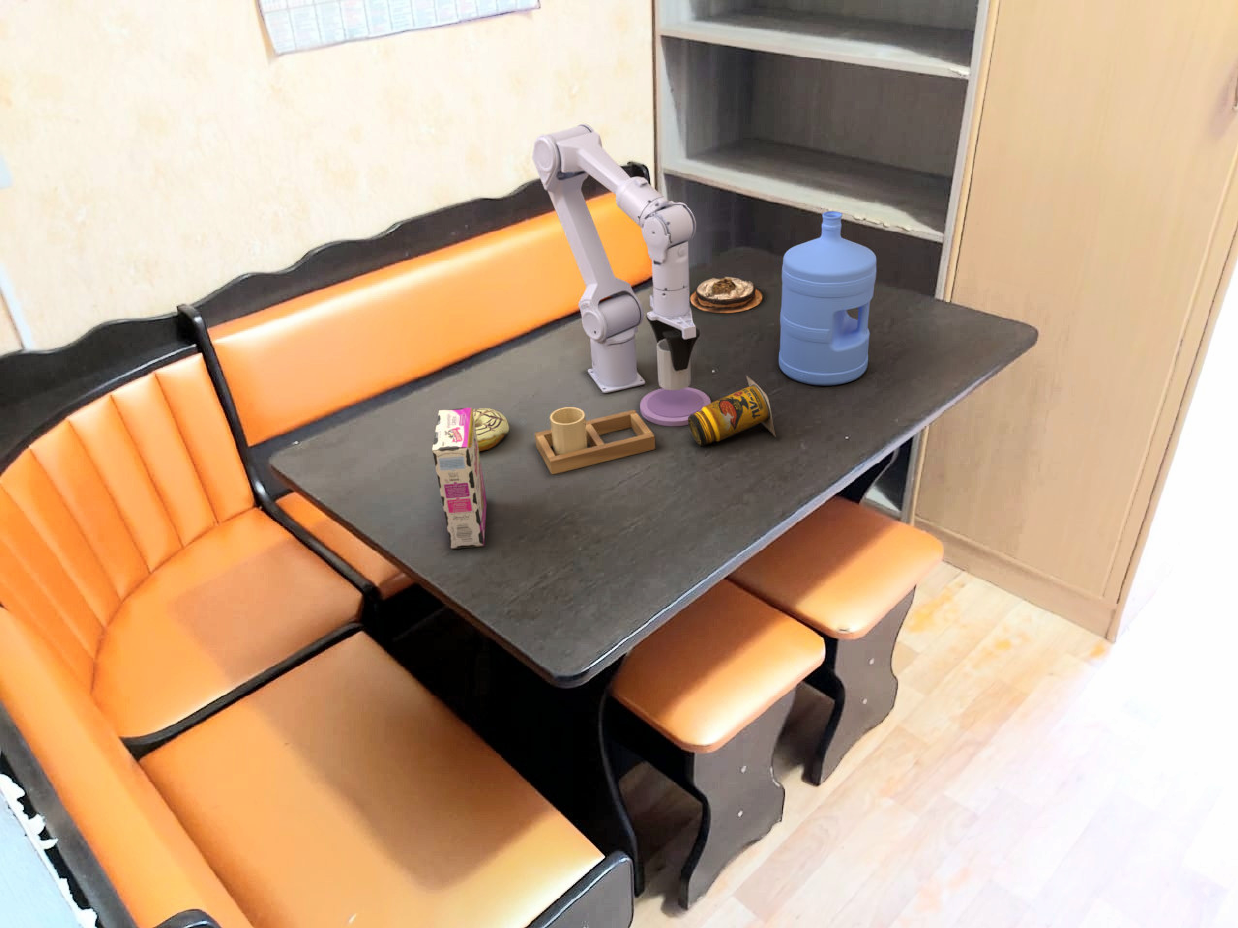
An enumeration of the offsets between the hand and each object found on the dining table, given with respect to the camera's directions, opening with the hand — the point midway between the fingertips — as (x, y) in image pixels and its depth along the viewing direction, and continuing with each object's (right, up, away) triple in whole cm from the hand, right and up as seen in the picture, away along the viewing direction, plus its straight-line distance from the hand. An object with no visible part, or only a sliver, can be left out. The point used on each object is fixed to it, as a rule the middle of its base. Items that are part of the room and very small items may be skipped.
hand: (673, 361), depth 152 cm
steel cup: (0, -3, +2) cm, 4 cm away
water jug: (+28, 0, +14) cm, 31 cm away
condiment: (+14, -7, -5) cm, 17 cm away
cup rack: (-13, -14, -4) cm, 20 cm away
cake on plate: (+14, +18, +42) cm, 48 cm away
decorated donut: (-33, -13, +1) cm, 35 cm away
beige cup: (-17, -15, -5) cm, 23 cm away
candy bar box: (-30, -26, -19) cm, 44 cm away
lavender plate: (+1, -7, +5) cm, 9 cm away
